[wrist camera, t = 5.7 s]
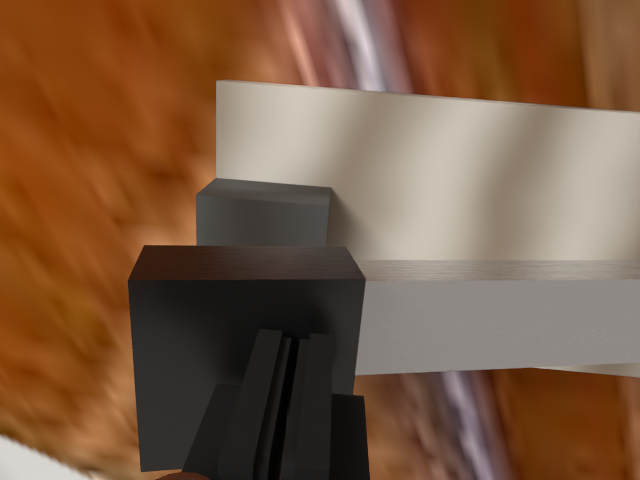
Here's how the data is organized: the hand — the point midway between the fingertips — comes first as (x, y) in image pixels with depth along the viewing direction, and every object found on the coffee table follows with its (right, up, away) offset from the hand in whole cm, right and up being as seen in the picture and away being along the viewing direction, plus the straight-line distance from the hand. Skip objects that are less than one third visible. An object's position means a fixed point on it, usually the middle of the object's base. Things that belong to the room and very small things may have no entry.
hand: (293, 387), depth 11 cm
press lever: (+7, +1, +5) cm, 8 cm away
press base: (+9, +4, +12) cm, 15 cm away
